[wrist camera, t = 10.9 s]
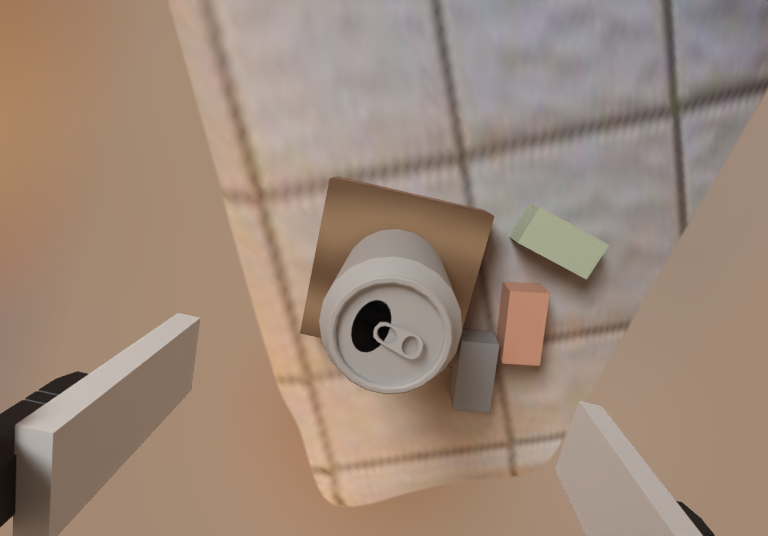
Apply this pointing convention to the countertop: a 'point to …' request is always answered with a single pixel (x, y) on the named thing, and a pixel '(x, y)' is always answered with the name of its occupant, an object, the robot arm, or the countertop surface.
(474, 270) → the walnut block
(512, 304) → the brick terracotta
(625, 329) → the countertop surface
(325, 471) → the countertop surface
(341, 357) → the can
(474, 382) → the brick slate
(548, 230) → the brick sage
